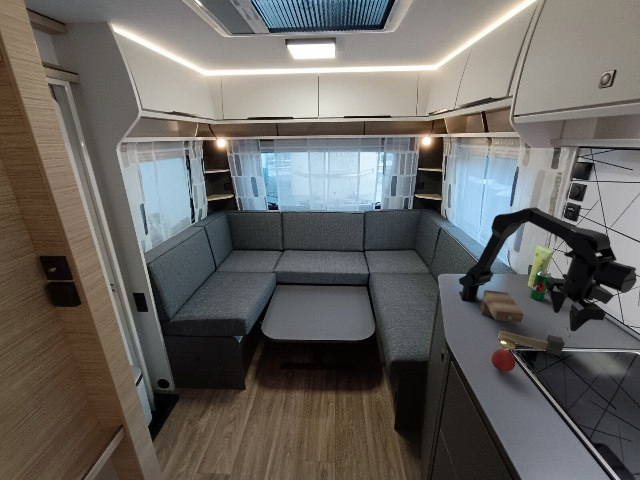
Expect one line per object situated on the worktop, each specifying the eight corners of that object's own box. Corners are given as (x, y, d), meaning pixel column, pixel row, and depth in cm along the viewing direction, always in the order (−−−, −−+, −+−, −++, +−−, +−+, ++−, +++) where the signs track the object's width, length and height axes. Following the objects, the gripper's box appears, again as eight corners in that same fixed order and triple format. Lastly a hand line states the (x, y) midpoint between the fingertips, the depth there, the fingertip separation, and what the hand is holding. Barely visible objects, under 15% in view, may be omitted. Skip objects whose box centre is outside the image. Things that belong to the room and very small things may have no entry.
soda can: (546, 301, 120) (554, 275, 115) (532, 300, 121) (540, 274, 116) (540, 295, 124) (548, 270, 120) (527, 293, 125) (534, 268, 121)
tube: (525, 287, 131) (537, 247, 124) (526, 282, 134) (537, 243, 128) (541, 291, 128) (554, 250, 121) (541, 286, 131) (553, 246, 125)
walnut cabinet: (479, 310, 114) (484, 290, 111) (502, 312, 112) (507, 292, 109) (492, 334, 100) (498, 312, 97) (518, 338, 99) (524, 315, 95)
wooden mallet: (497, 335, 100) (500, 323, 98) (557, 350, 93) (561, 337, 92) (498, 341, 97) (501, 328, 95) (559, 356, 91) (564, 343, 89)
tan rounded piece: (498, 340, 98) (499, 336, 97) (513, 343, 96) (514, 340, 96) (500, 349, 94) (501, 345, 94) (516, 352, 93) (517, 348, 92)
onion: (493, 377, 83) (500, 354, 80) (485, 362, 88) (491, 340, 86) (515, 379, 82) (522, 357, 79) (506, 364, 88) (512, 342, 85)
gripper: (640, 295, 73) (617, 346, 78) (592, 264, 90) (576, 307, 95) (588, 290, 75) (570, 340, 80) (551, 261, 92) (538, 303, 97)
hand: (564, 321), depth 88 cm, fingers open, 9 cm apart
